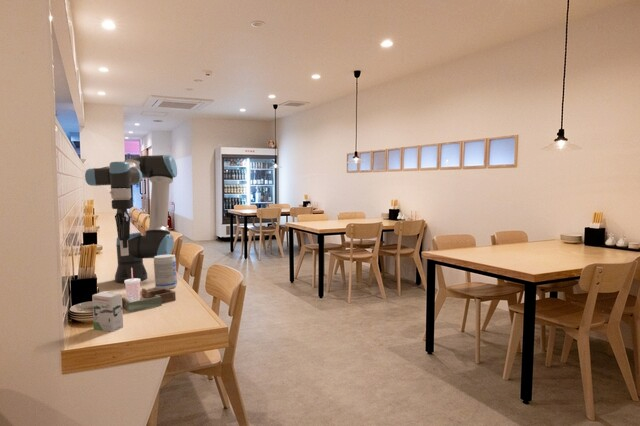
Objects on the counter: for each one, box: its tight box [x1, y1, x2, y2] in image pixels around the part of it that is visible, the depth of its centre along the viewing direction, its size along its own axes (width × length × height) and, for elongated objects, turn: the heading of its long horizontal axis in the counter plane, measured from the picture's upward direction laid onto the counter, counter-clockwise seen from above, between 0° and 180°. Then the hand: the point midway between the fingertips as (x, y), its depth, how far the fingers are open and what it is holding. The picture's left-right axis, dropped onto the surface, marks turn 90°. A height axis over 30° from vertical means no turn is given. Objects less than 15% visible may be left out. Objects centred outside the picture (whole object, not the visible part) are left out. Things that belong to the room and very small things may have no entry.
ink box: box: [91, 290, 124, 333], centre depth 143 cm, size 9×5×12 cm, turn 69°
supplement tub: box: [153, 253, 178, 290], centre depth 198 cm, size 10×10×15 cm
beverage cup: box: [123, 268, 142, 302], centre depth 175 cm, size 6×6×14 cm
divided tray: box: [122, 288, 177, 313], centre depth 172 cm, size 19×26×4 cm
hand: (124, 255), depth 180 cm, fingers closed
